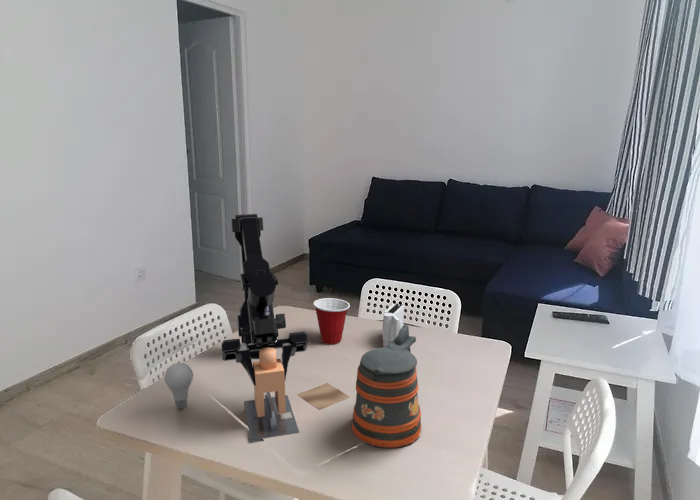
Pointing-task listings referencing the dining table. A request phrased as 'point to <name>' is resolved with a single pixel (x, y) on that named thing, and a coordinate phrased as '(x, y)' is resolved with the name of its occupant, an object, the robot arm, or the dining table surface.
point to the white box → (392, 323)
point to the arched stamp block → (269, 380)
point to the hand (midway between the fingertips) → (269, 383)
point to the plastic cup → (331, 318)
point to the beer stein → (388, 395)
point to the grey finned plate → (270, 420)
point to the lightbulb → (179, 382)
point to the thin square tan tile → (323, 396)
